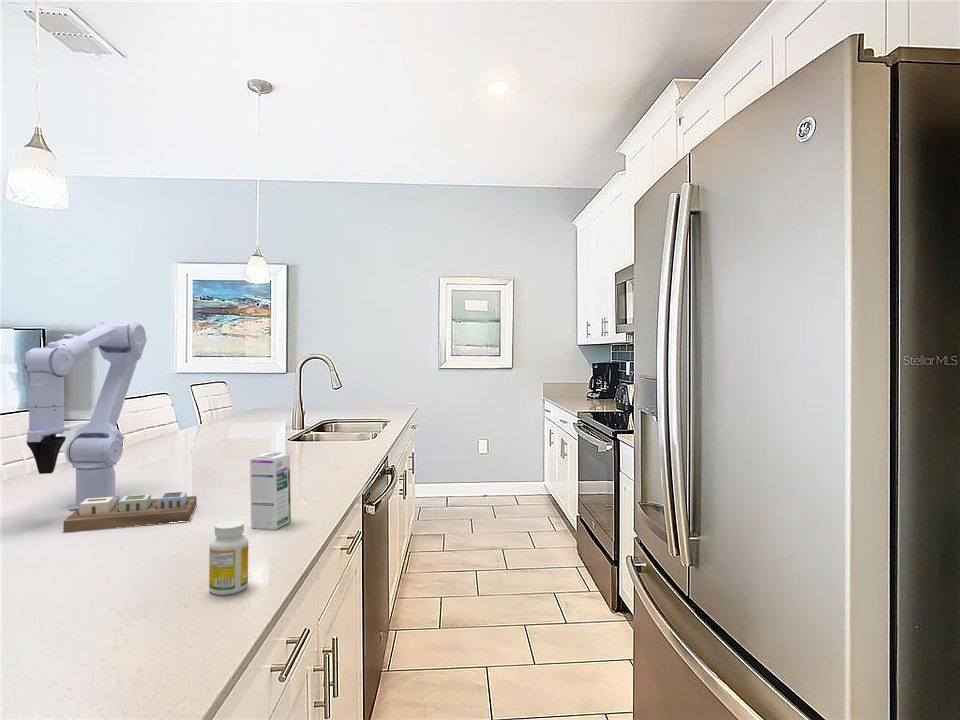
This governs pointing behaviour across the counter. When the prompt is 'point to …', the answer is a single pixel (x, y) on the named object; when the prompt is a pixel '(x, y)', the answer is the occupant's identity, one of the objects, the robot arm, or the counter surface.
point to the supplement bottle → (228, 559)
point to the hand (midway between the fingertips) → (46, 473)
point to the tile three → (172, 500)
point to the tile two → (135, 503)
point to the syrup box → (270, 490)
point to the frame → (129, 517)
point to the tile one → (96, 505)
